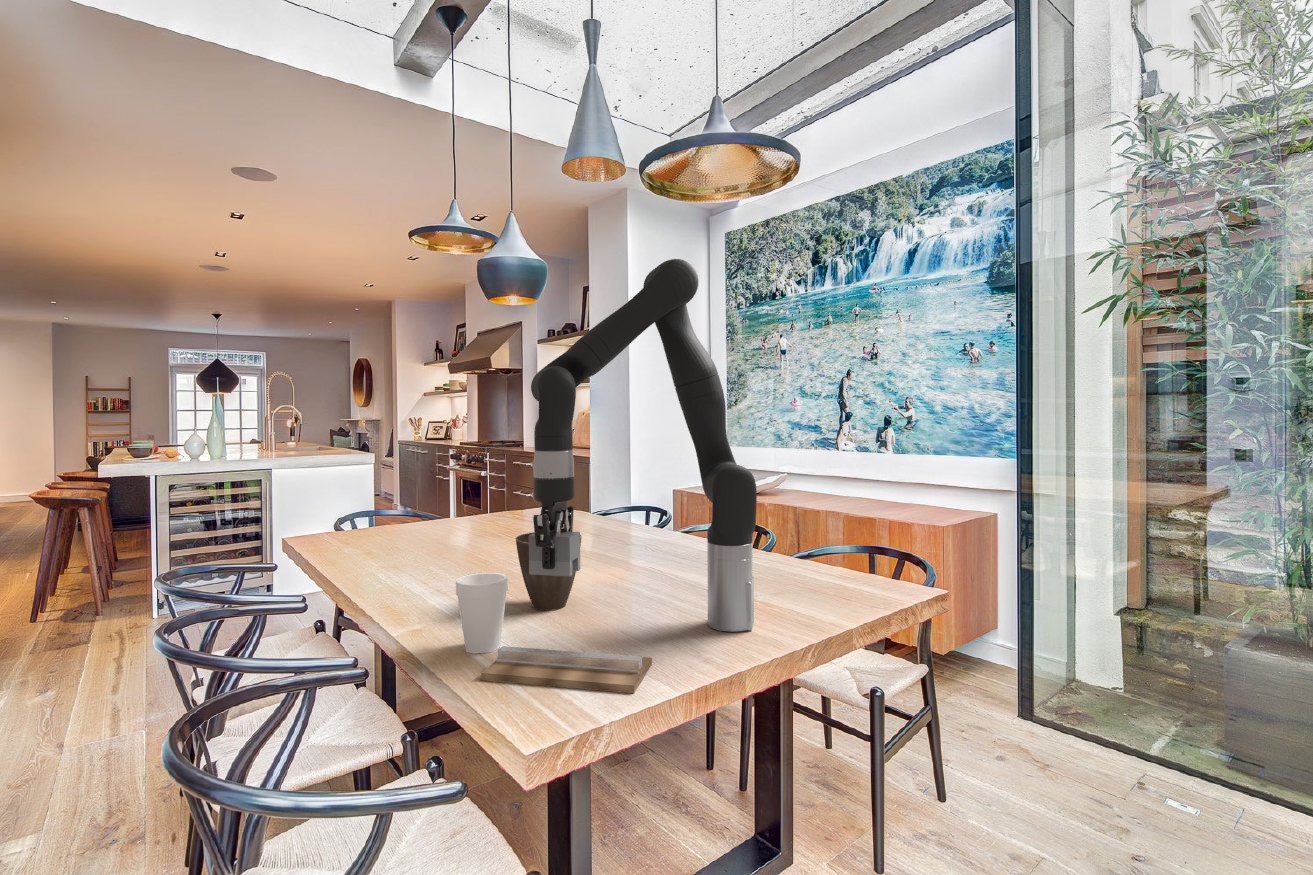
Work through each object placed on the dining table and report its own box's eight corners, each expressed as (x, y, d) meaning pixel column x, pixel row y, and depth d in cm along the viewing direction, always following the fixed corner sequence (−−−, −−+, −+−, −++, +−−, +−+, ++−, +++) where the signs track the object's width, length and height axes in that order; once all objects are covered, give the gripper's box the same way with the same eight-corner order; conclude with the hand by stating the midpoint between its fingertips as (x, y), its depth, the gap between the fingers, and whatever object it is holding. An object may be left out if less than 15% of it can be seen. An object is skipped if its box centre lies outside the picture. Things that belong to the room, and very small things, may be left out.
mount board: (651, 664, 112) (651, 657, 112) (634, 693, 100) (634, 685, 100) (512, 653, 118) (512, 647, 118) (480, 679, 106) (480, 672, 106)
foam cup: (481, 660, 115) (479, 587, 114) (445, 650, 120) (444, 581, 119) (519, 644, 123) (518, 576, 122) (484, 636, 128) (483, 570, 127)
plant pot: (594, 607, 146) (593, 537, 146) (533, 620, 138) (532, 545, 137) (563, 593, 159) (563, 528, 158) (506, 604, 150) (505, 535, 149)
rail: (642, 667, 108) (642, 655, 108) (638, 673, 105) (638, 661, 105) (503, 656, 113) (503, 645, 113) (496, 662, 110) (496, 650, 110)
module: (580, 569, 123) (579, 527, 122) (569, 576, 117) (569, 532, 117) (541, 567, 124) (540, 526, 124) (529, 574, 119) (528, 531, 119)
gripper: (558, 478, 112) (559, 575, 113) (586, 471, 126) (587, 557, 127) (518, 477, 114) (519, 573, 115) (550, 471, 128) (551, 556, 129)
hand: (555, 564), depth 121 cm, fingers closed on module, 5 cm apart
